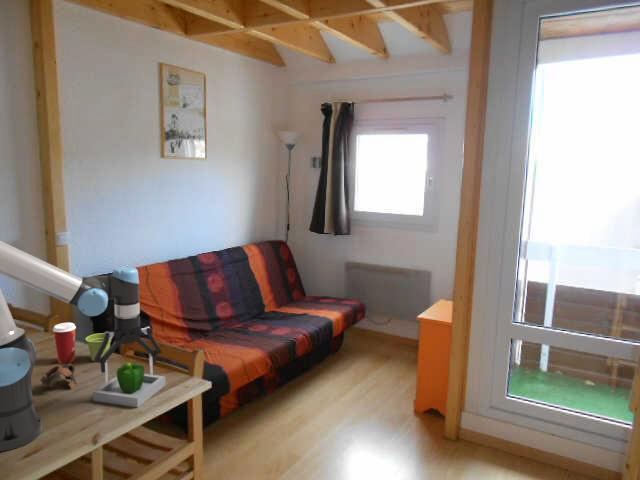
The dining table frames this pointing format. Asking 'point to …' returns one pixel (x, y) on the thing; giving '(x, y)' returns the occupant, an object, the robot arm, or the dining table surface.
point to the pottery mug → (66, 371)
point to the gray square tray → (117, 396)
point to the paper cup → (65, 342)
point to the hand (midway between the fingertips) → (129, 377)
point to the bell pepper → (130, 377)
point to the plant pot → (96, 344)
